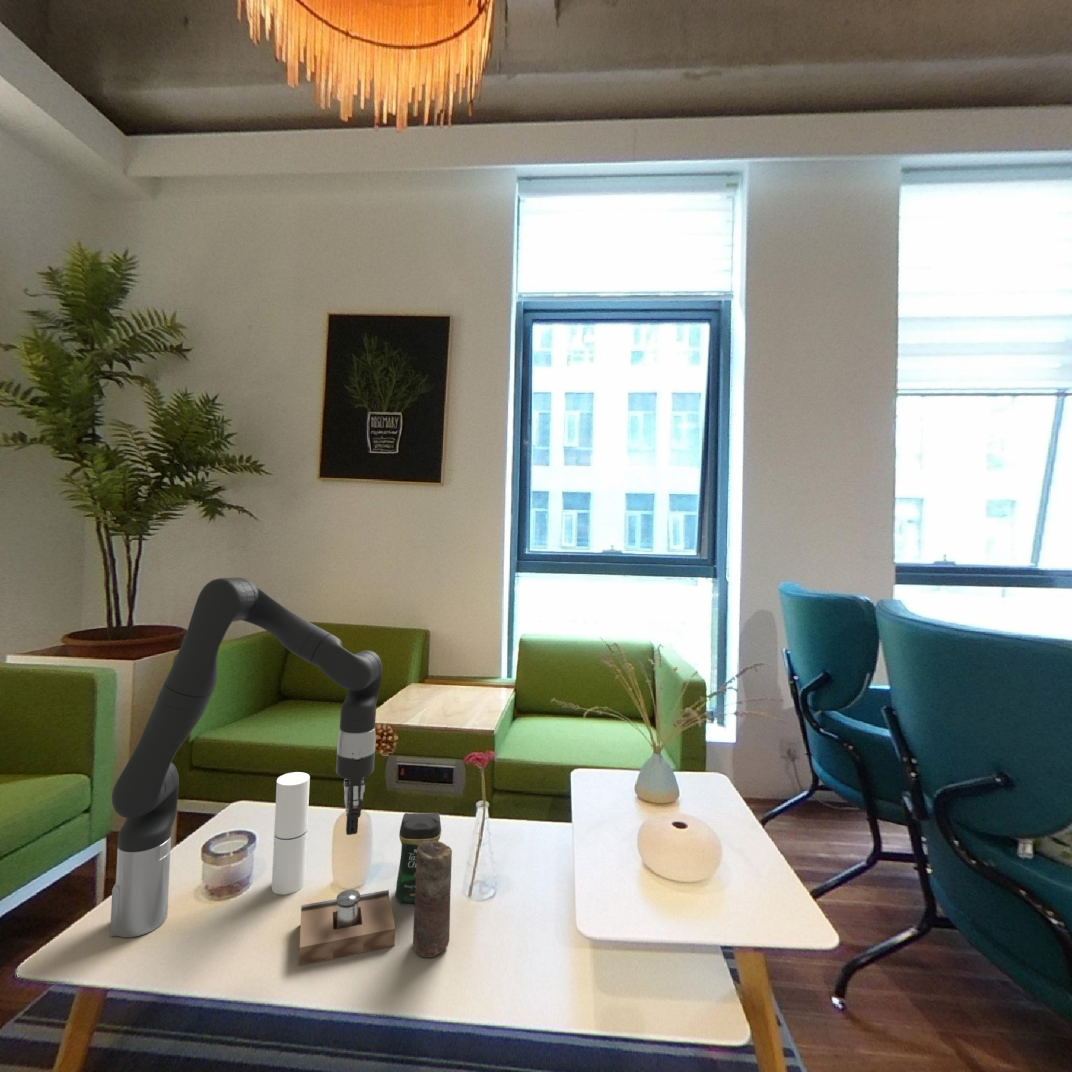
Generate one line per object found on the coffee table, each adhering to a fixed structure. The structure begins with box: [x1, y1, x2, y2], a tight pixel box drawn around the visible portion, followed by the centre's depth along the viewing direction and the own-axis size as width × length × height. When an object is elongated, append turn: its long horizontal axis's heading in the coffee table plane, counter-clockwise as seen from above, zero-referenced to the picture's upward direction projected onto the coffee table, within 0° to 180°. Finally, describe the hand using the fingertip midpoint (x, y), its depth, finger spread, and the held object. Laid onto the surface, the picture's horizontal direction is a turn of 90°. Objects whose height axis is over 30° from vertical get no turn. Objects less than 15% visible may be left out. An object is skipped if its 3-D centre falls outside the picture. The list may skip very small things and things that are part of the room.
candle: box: [412, 841, 453, 958], centre depth 116 cm, size 8×7×20 cm
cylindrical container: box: [271, 771, 311, 896], centre depth 133 cm, size 7×7×25 cm
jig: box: [298, 889, 396, 967], centre depth 118 cm, size 18×12×4 cm, turn 111°
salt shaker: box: [336, 889, 361, 929], centre depth 118 cm, size 5×5×8 cm
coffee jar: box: [395, 812, 442, 904], centre depth 132 cm, size 10×8×19 cm
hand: (351, 832), depth 118 cm, fingers closed
